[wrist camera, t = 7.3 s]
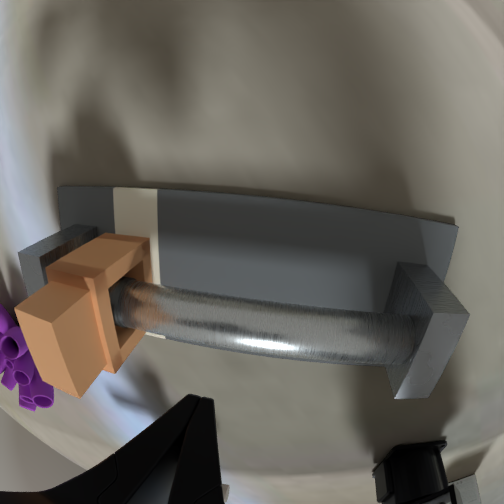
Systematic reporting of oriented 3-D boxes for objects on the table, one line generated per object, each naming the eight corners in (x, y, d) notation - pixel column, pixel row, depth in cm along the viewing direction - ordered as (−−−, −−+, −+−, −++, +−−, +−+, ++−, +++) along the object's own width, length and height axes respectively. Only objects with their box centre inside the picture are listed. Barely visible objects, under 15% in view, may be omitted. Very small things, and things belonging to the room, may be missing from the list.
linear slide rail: (427, 265, 15) (469, 314, 10) (403, 337, 17) (428, 397, 12) (74, 224, 17) (17, 252, 12) (84, 290, 19) (38, 329, 14)
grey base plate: (455, 224, 14) (459, 227, 14) (408, 363, 18) (410, 367, 17) (61, 186, 17) (56, 187, 16) (79, 312, 21) (76, 315, 20)
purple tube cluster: (3, 280, 26) (-47, 265, 17) (92, 349, 27) (48, 359, 17) (-22, 355, 23) (-69, 358, 14) (61, 428, 24) (20, 457, 14)
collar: (149, 237, 15) (52, 310, 8) (156, 319, 17) (89, 409, 10) (105, 232, 16) (6, 293, 8) (115, 309, 18) (42, 387, 10)
